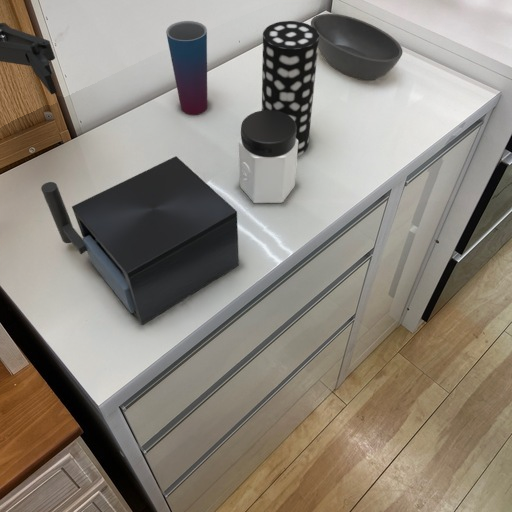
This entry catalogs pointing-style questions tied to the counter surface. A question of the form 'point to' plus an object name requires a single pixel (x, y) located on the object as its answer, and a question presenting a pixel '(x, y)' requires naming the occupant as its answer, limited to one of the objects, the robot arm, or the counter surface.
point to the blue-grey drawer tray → (87, 245)
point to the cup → (189, 64)
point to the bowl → (356, 46)
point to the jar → (268, 156)
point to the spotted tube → (290, 73)
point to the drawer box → (163, 234)
